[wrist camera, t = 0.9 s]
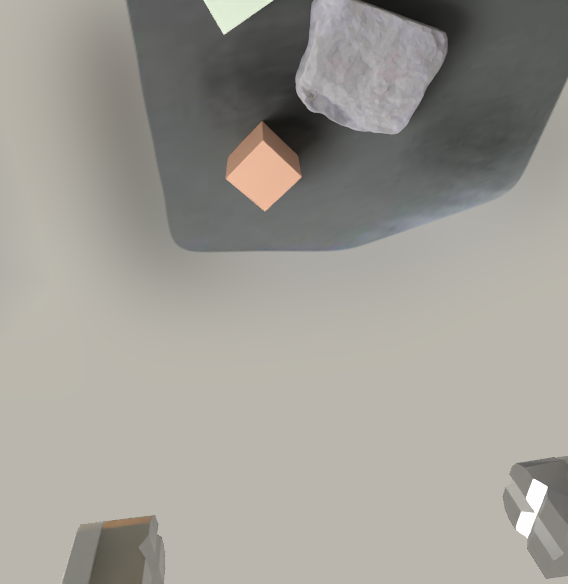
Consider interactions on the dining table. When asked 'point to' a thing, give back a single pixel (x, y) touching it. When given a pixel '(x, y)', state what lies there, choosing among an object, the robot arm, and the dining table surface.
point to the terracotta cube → (263, 167)
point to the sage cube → (233, 11)
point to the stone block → (367, 65)
